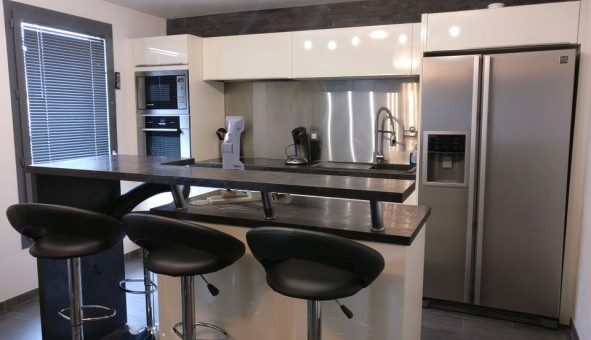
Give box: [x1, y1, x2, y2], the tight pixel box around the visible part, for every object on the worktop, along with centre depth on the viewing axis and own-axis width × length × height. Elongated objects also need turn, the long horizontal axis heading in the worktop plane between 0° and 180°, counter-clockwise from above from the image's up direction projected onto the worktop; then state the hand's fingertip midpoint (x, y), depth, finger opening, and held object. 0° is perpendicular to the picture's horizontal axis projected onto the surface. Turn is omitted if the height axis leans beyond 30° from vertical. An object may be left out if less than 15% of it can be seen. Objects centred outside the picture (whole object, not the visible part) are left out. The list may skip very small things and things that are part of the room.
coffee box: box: [271, 170, 292, 205], centre depth 236 cm, size 9×6×16 cm
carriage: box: [220, 189, 237, 199], centre depth 239 cm, size 6×7×7 cm
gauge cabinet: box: [246, 190, 261, 198], centre depth 246 cm, size 8×7×4 cm
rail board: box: [206, 192, 262, 205], centre depth 242 cm, size 10×30×3 cm, turn 115°
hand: (228, 190), depth 239 cm, fingers closed on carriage, 3 cm apart
